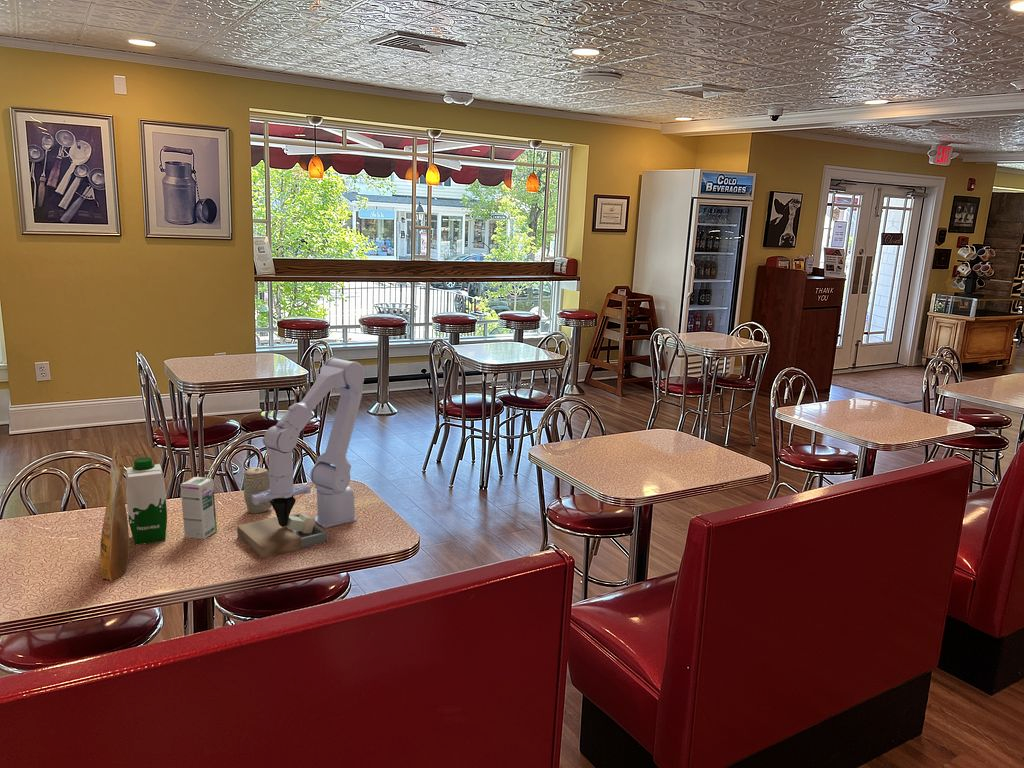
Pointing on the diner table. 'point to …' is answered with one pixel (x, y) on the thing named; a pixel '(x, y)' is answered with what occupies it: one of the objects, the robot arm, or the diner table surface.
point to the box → (311, 536)
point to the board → (268, 537)
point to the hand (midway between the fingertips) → (283, 525)
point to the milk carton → (146, 501)
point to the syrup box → (198, 507)
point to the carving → (256, 488)
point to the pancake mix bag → (115, 525)
